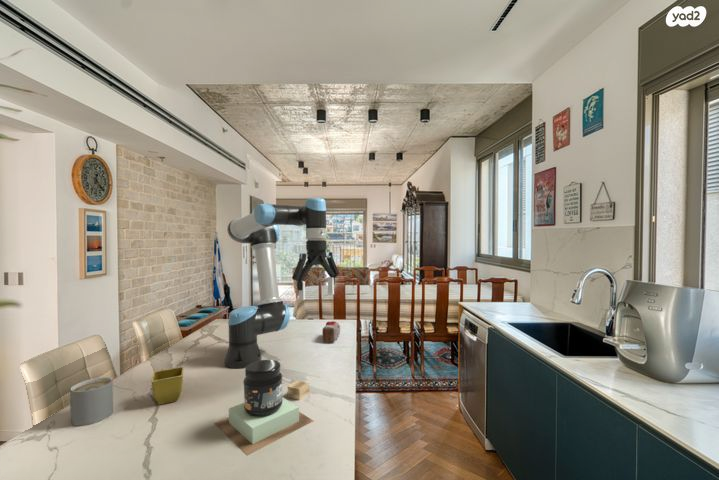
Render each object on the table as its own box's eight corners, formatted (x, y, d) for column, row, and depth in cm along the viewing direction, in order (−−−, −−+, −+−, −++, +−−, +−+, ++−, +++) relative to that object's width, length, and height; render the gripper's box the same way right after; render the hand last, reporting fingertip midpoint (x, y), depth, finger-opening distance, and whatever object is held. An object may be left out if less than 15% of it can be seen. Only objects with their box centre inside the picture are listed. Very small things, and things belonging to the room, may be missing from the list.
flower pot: (151, 409, 102) (151, 381, 102) (154, 397, 110) (153, 371, 110) (183, 402, 106) (182, 375, 106) (183, 391, 114) (183, 366, 114)
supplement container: (242, 403, 94) (242, 362, 94) (279, 396, 98) (278, 356, 98) (245, 422, 84) (244, 376, 84) (285, 412, 88) (285, 369, 88)
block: (287, 401, 106) (287, 386, 106) (297, 394, 110) (297, 380, 110) (299, 405, 103) (299, 389, 103) (309, 398, 108) (309, 383, 108)
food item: (326, 335, 178) (326, 318, 178) (341, 336, 177) (340, 318, 177) (321, 343, 164) (321, 324, 164) (336, 344, 164) (336, 324, 164)
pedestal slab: (228, 422, 91) (228, 408, 91) (273, 404, 101) (272, 391, 101) (252, 444, 81) (252, 428, 81) (298, 421, 91) (298, 407, 91)
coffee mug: (98, 425, 94) (97, 390, 94) (61, 427, 93) (60, 392, 93) (127, 402, 107) (126, 372, 107) (95, 403, 106) (94, 373, 106)
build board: (213, 428, 91) (213, 423, 91) (276, 402, 105) (276, 397, 105) (247, 461, 77) (247, 455, 77) (313, 426, 91) (313, 420, 91)
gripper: (293, 240, 109) (294, 302, 109) (347, 239, 127) (348, 293, 127) (281, 240, 114) (282, 300, 114) (334, 239, 132) (335, 291, 132)
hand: (317, 296), depth 120 cm, fingers open, 13 cm apart
